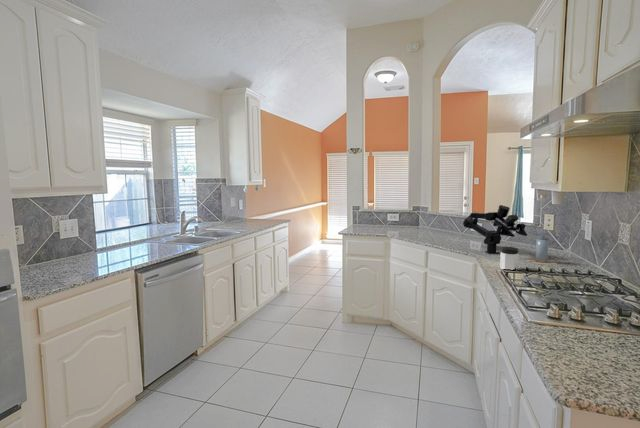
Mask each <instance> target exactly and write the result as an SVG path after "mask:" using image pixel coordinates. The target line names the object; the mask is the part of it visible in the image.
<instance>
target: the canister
mask: <svg viewBox="0 0 640 428" xmlns="http://www.w3.org/2000/svg"><path fill="white" fill-rule="evenodd" d="M535 239H536V241H535V242H536V246H535V247H536V248H535V260H536V262H539V263H548V261H549V260H548V259H549V239H550V237H549V236H545V234H544V235H543V234H542V235H540V236H536V237H535Z"/></svg>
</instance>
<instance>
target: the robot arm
mask: <svg viewBox="0 0 640 428" xmlns="http://www.w3.org/2000/svg"><path fill="white" fill-rule="evenodd" d="M510 209H511V208H510V206H505V205H502V204H501V205H498V209H497V211H495V212H494V211H492V212H491V211H490V212H489V211H488V212H485V213H484V212H471V213H470V214H469V215H468V216H467V217H465V219H464V220H463V222H462V225H463V227H464V228H466V229H471V230H474V231H475V232H477V233H478V234H480V235H481V236H483V237H484V238H485V239H483V245H486V250H485V251H484V252H485V253H487V254H489V255H491V254H499V252H498V251H497V245H500V243H501V239H502V236H504V237H505V236H506V237H512V238H515V234H514V233H513V232H515V233H517V235H519V236H520V235H521V236H525V237H527V236H528V234H527V232H526V231H525V228H526V226H527V225H526V224H525V223H517V224H516V222H517V221H518V219H519V217H518V215H516V214H510V215H509V211H510ZM479 219H480V220H482V219H483V220H486V221H489V222H493V223H492V224H493V227H497V228H496V230H489V229H486V228H485V227H483V226H482V225H479V224H478V222H479ZM515 225H516V226H515Z"/></svg>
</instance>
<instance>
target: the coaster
mask: <svg viewBox="0 0 640 428" xmlns="http://www.w3.org/2000/svg"><path fill="white" fill-rule="evenodd" d="M526 261H528V262H530V263H533V264H535V265H539V266H540V265H541V266H542V265H545V266H546V265H558V263H557V262H554V261H551V260H548V263H539V262H536V259H526Z"/></svg>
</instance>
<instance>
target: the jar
mask: <svg viewBox="0 0 640 428" xmlns="http://www.w3.org/2000/svg"><path fill="white" fill-rule="evenodd" d="M499 255H500V258H499V259H500V262H499V269H501V270H503V269H511V270H513V269H515V268H516V269H518V270H519V263H520V261H519V257H520V253H519V249H518V247H515V246H502V247H501V251H500V254H499Z"/></svg>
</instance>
